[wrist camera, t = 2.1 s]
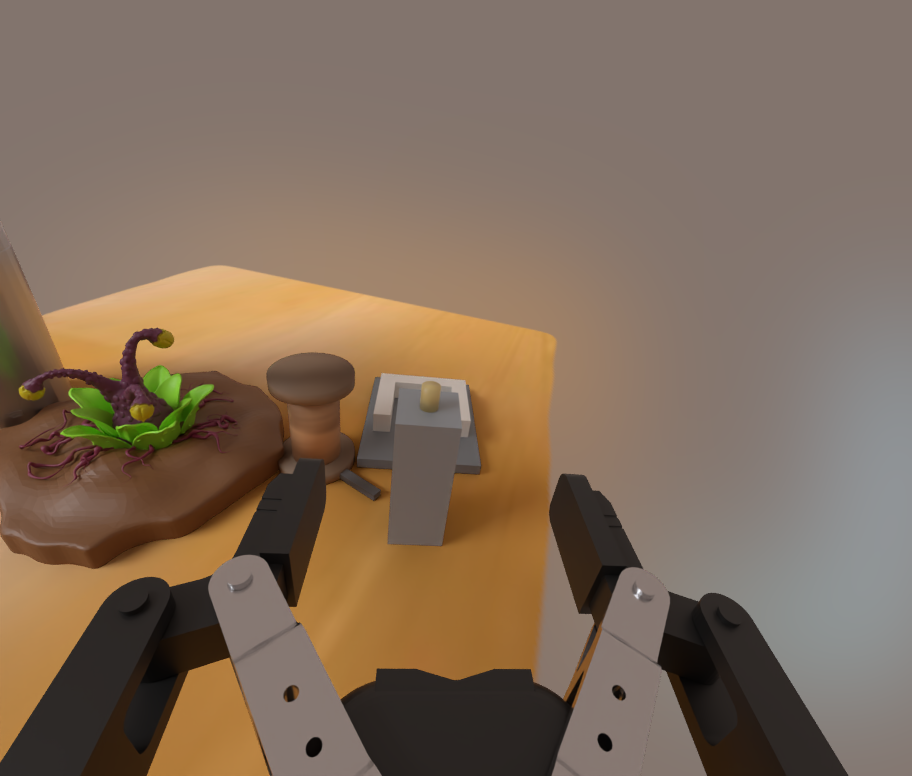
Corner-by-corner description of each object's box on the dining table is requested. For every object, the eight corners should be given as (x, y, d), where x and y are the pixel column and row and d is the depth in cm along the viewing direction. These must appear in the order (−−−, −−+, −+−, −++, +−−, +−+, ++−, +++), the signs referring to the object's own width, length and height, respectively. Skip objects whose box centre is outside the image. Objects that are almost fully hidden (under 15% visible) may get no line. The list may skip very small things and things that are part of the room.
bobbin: (270, 447, 37) (258, 359, 32) (340, 430, 40) (338, 347, 35) (301, 527, 30) (291, 430, 25) (382, 497, 33) (386, 407, 29)
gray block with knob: (441, 545, 30) (465, 406, 24) (387, 543, 30) (396, 401, 23) (440, 504, 34) (461, 372, 27) (391, 502, 33) (400, 367, 27)
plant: (329, 461, 37) (324, 351, 31) (36, 621, 23) (-71, 476, 17) (222, 373, 47) (203, 276, 41) (-28, 447, 33) (-111, 318, 27)
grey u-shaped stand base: (479, 474, 37) (484, 449, 36) (356, 467, 36) (356, 440, 34) (467, 391, 49) (471, 370, 47) (375, 384, 48) (375, 361, 46)
